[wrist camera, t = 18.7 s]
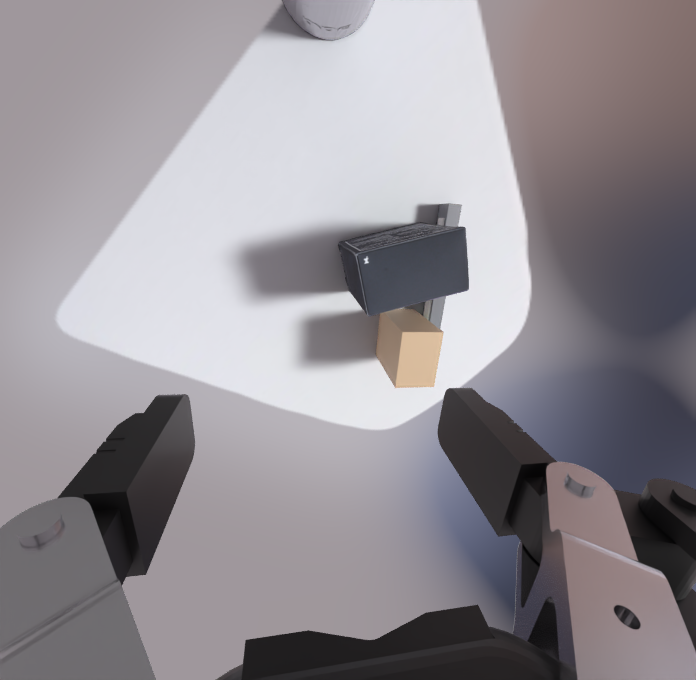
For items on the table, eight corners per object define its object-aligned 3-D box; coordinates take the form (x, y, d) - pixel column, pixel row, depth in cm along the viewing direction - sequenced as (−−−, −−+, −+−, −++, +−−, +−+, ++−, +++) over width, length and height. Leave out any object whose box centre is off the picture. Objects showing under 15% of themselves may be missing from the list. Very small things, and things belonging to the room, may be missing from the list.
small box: (348, 295, 40) (366, 320, 30) (336, 241, 37) (352, 251, 28) (429, 274, 41) (471, 293, 31) (423, 220, 38) (467, 223, 29)
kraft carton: (375, 354, 44) (395, 387, 35) (380, 308, 41) (402, 332, 33) (408, 354, 44) (435, 386, 36) (414, 308, 42) (444, 332, 34)
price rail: (438, 204, 38) (447, 203, 35) (451, 205, 38) (461, 204, 36) (412, 372, 46) (419, 381, 43) (423, 372, 46) (430, 380, 44)
